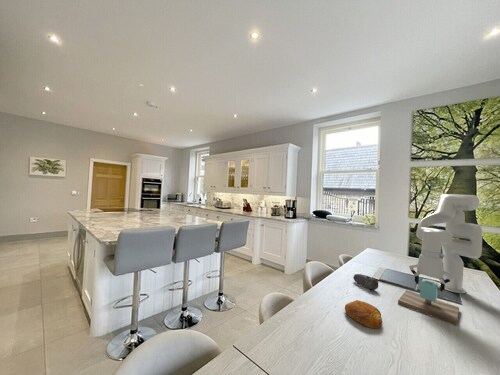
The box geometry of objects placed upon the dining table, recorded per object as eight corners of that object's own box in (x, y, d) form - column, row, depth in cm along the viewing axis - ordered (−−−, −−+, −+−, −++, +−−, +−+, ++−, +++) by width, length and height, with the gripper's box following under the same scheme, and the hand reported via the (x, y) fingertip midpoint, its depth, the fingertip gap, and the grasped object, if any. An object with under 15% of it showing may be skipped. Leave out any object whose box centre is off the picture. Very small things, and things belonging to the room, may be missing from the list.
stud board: (406, 293, 123) (407, 274, 123) (459, 311, 107) (460, 289, 107) (398, 303, 111) (399, 282, 111) (456, 325, 95) (457, 301, 95)
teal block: (422, 293, 113) (422, 278, 113) (436, 298, 109) (437, 282, 109) (419, 297, 109) (420, 281, 109) (435, 302, 105) (436, 285, 105)
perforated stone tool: (350, 281, 135) (351, 271, 135) (356, 280, 138) (356, 270, 138) (373, 292, 122) (374, 280, 122) (379, 291, 124) (379, 279, 124)
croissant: (369, 337, 87) (372, 320, 86) (338, 312, 101) (341, 296, 99) (390, 328, 93) (393, 311, 92) (358, 305, 107) (361, 290, 106)
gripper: (454, 257, 105) (452, 291, 105) (411, 248, 118) (410, 279, 118) (453, 260, 100) (451, 296, 100) (408, 251, 113) (406, 282, 113)
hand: (429, 287), depth 109 cm, fingers open, 9 cm apart
